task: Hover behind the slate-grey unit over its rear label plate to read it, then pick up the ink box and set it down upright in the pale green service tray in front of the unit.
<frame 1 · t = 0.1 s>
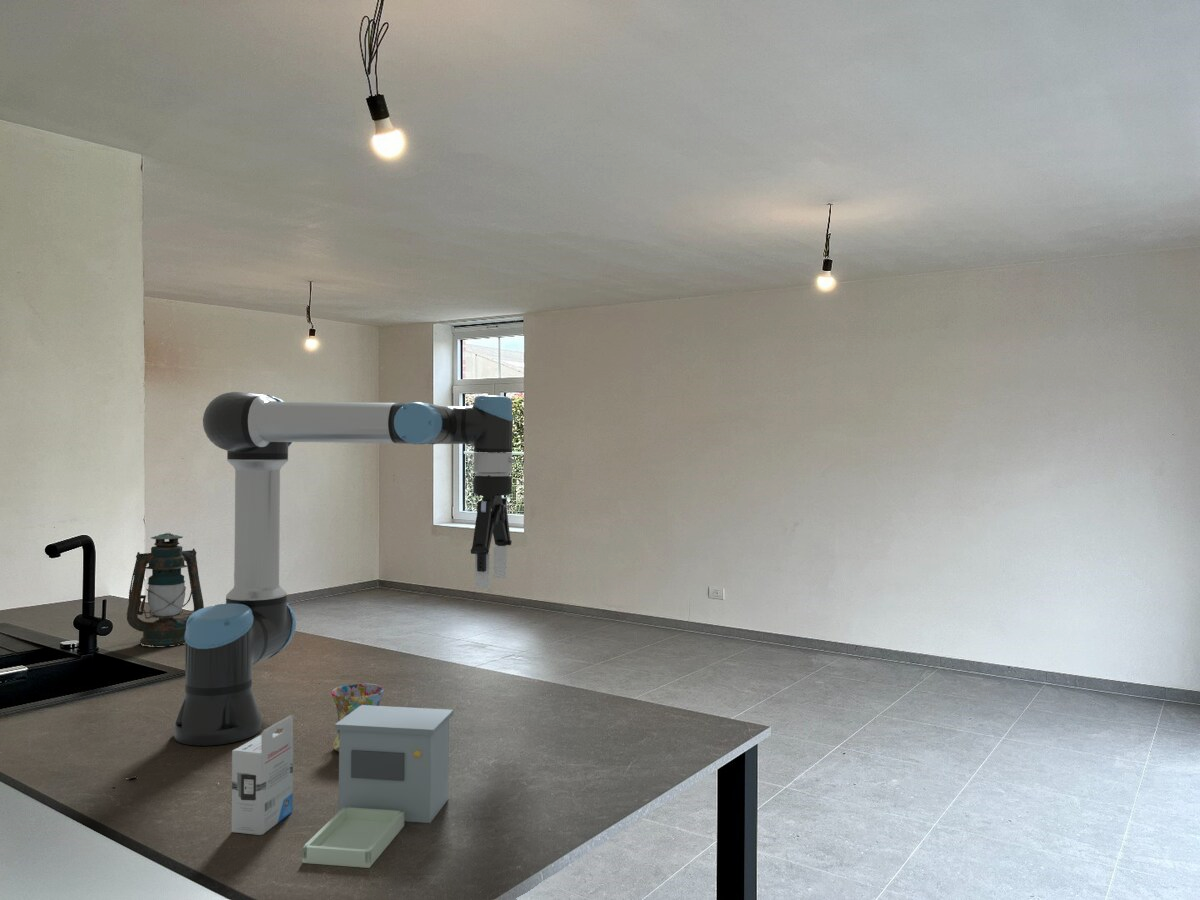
hand: (491, 583, 177), 28 cm above the kitchen island, fingers open, 13 cm apart
unit: (394, 807, 137), on the kitchen island
mug: (353, 748, 164), on the kitchen island
tray: (355, 843, 125), on the kitchen island
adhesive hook: (277, 788, 146), on the kitchen island
ink box: (262, 823, 131), on the kitchen island
lantern: (165, 642, 246), on the kitchen island
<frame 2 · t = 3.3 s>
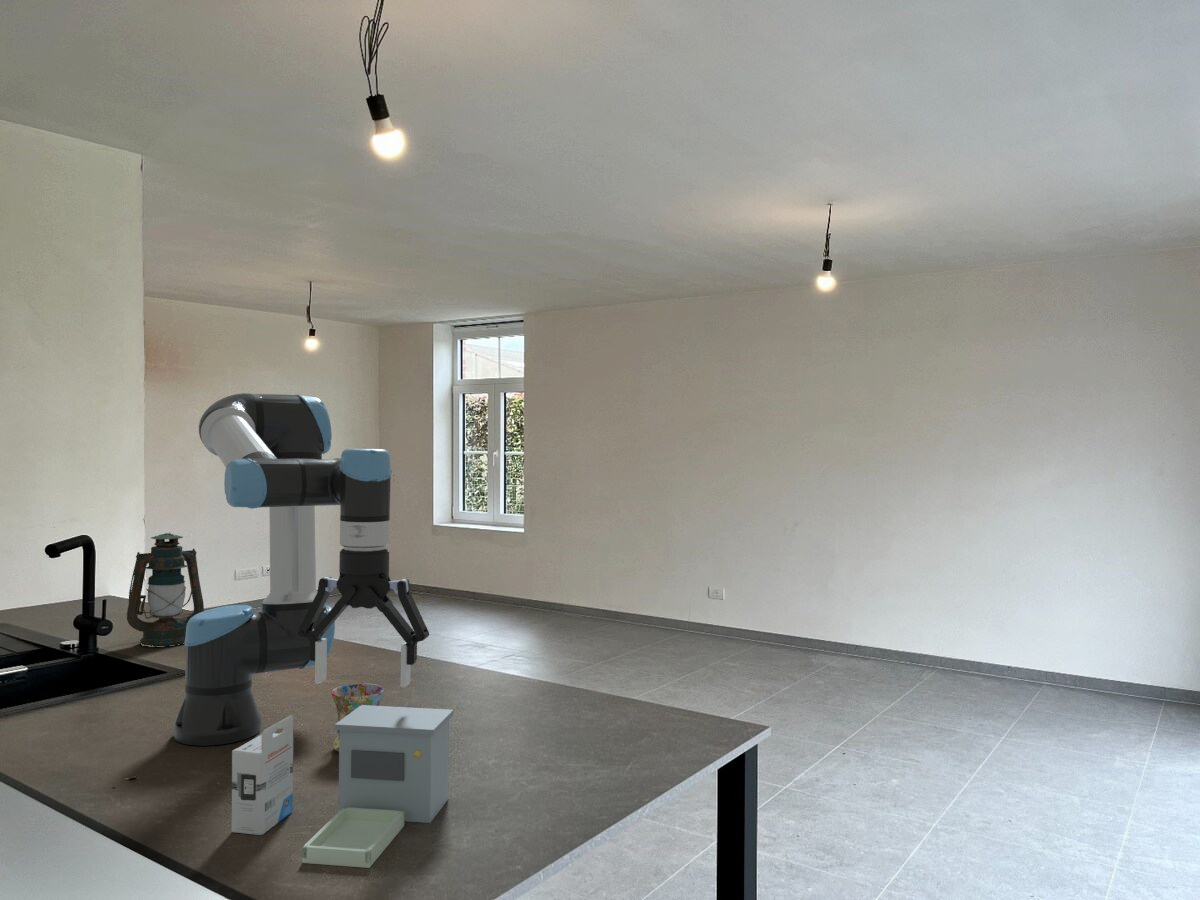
hand: (362, 683, 141), 18 cm above the kitchen island, fingers open, 13 cm apart
nothing on the kitchen island moved.
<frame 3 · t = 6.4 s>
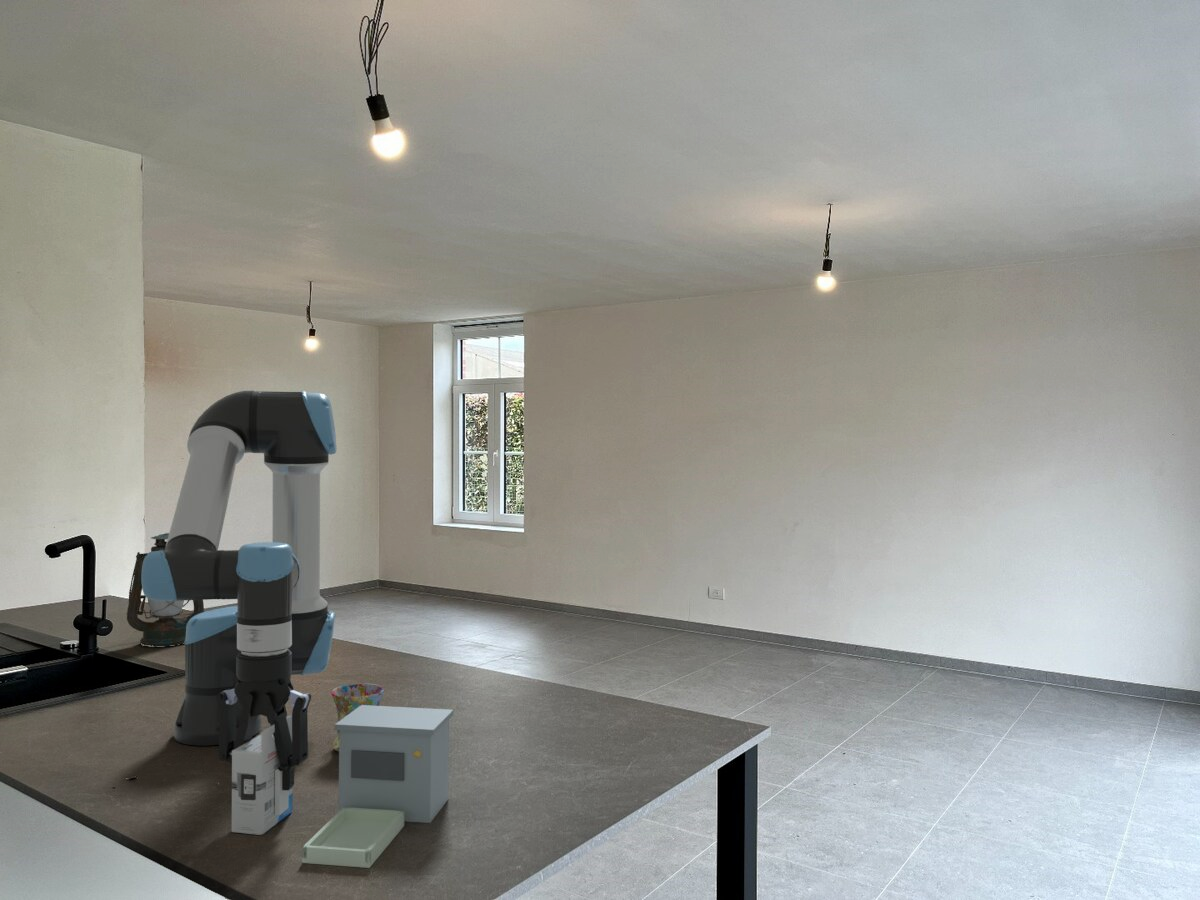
hand: (262, 809, 131), 2 cm above the kitchen island, fingers closed on ink box, 5 cm apart
ink box: (262, 823, 131), on the kitchen island, touching gripper
everything else where it was.
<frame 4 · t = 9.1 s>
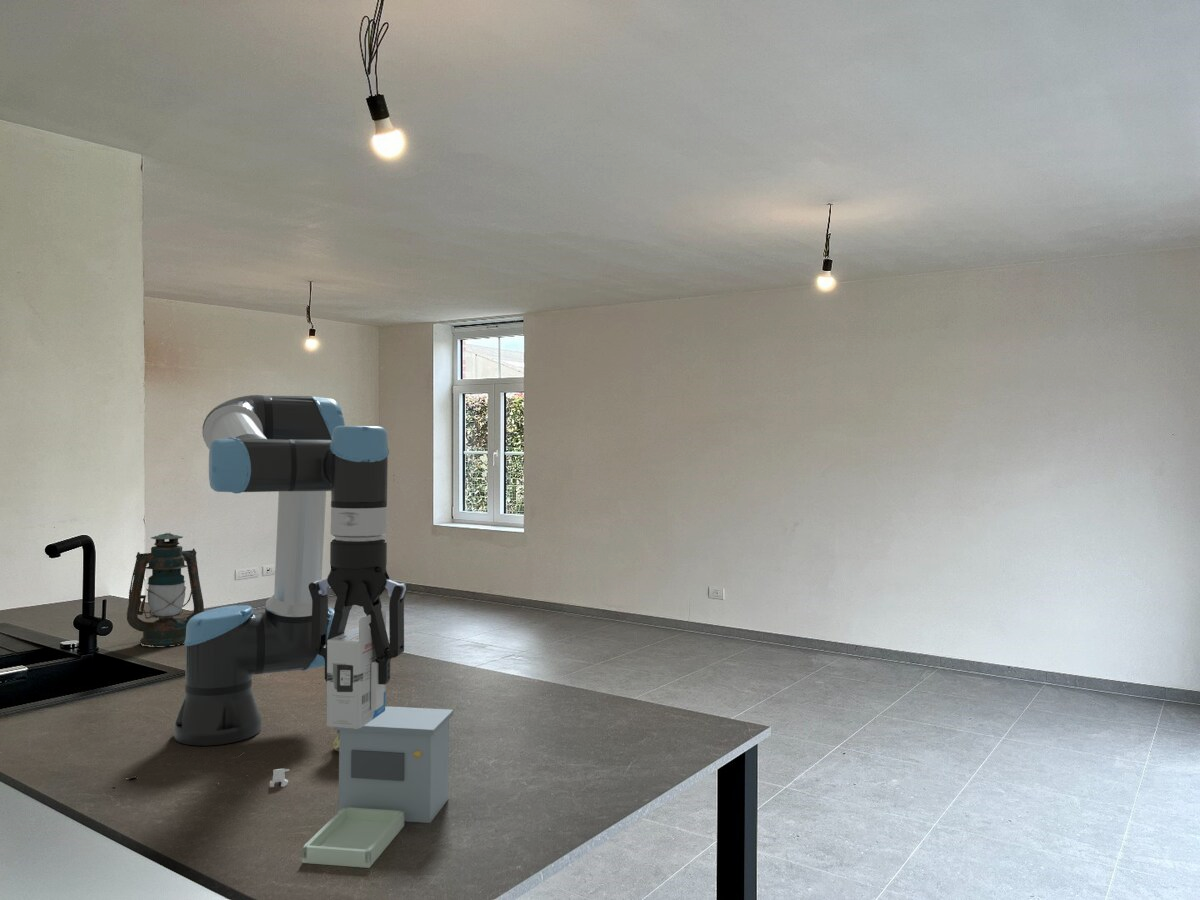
hand: (357, 705, 124), 19 cm above the kitchen island, fingers closed on ink box, 5 cm apart
ink box: (356, 720, 124), point 17 cm above the kitchen island, touching gripper
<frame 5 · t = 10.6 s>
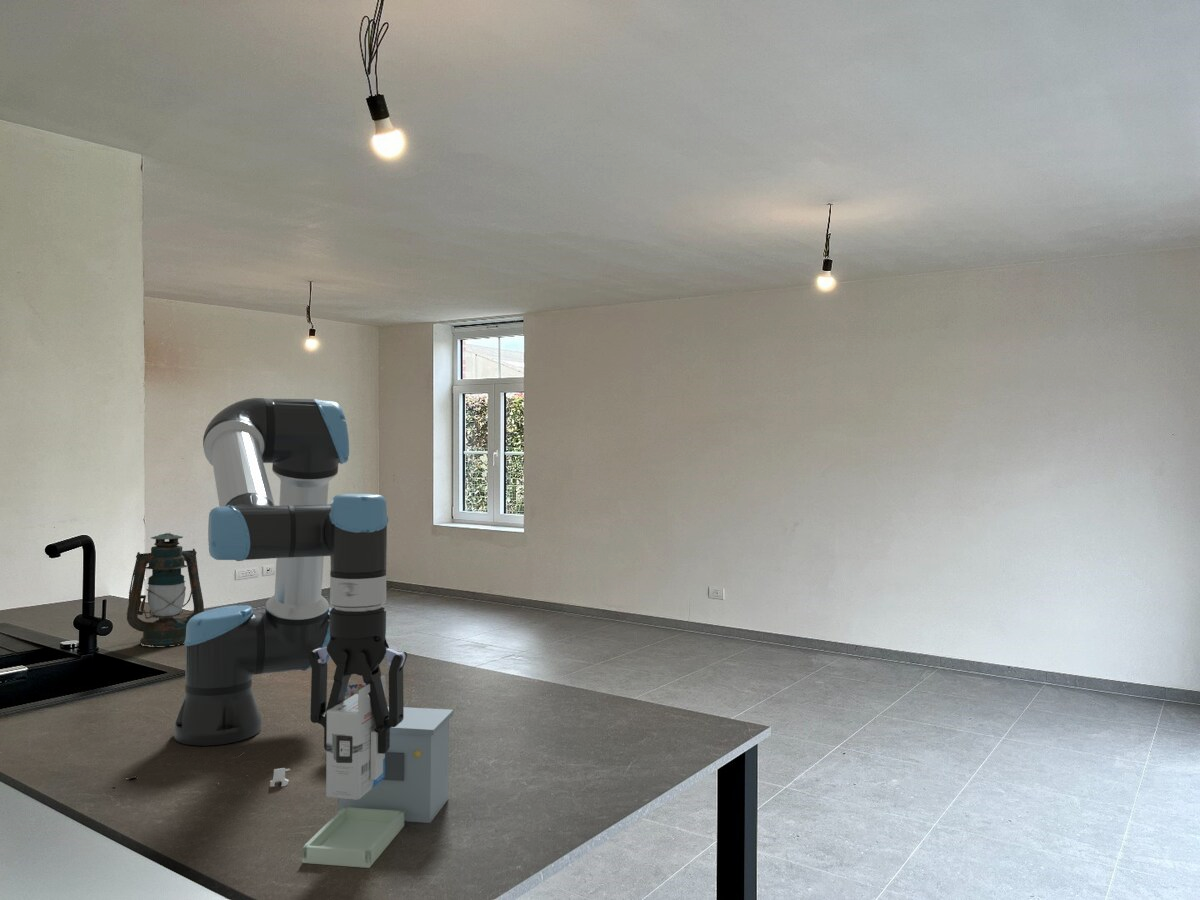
hand: (356, 774, 124), 10 cm above the kitchen island, fingers closed on ink box, 5 cm apart
ink box: (356, 789, 124), point 8 cm above the kitchen island, touching gripper
when the fingers open (4 cm above the kitchen island, at t = 11.9 s): ink box drops 2 cm, resting on tray.
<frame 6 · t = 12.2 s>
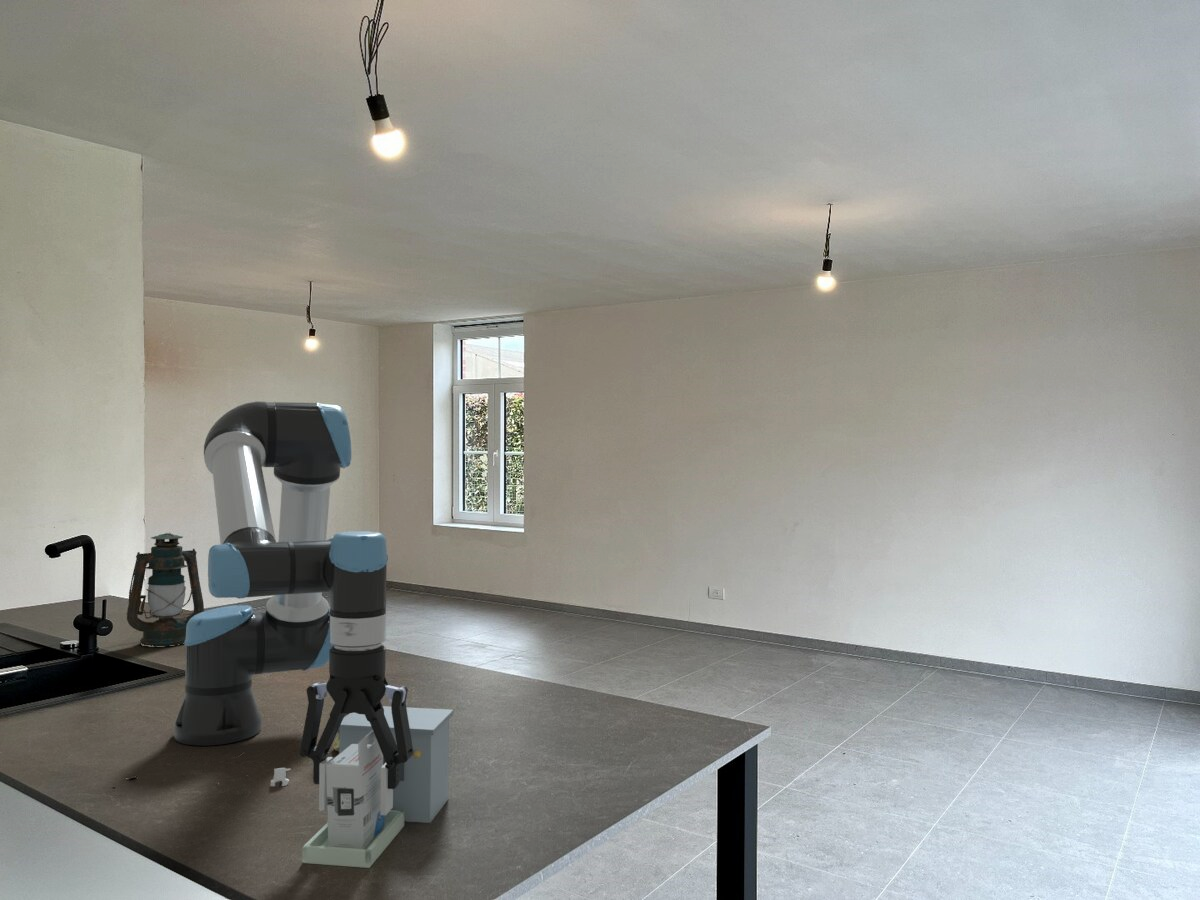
hand: (356, 808, 124), 5 cm above the kitchen island, fingers open, 8 cm apart
ink box: (357, 839, 125), resting on tray
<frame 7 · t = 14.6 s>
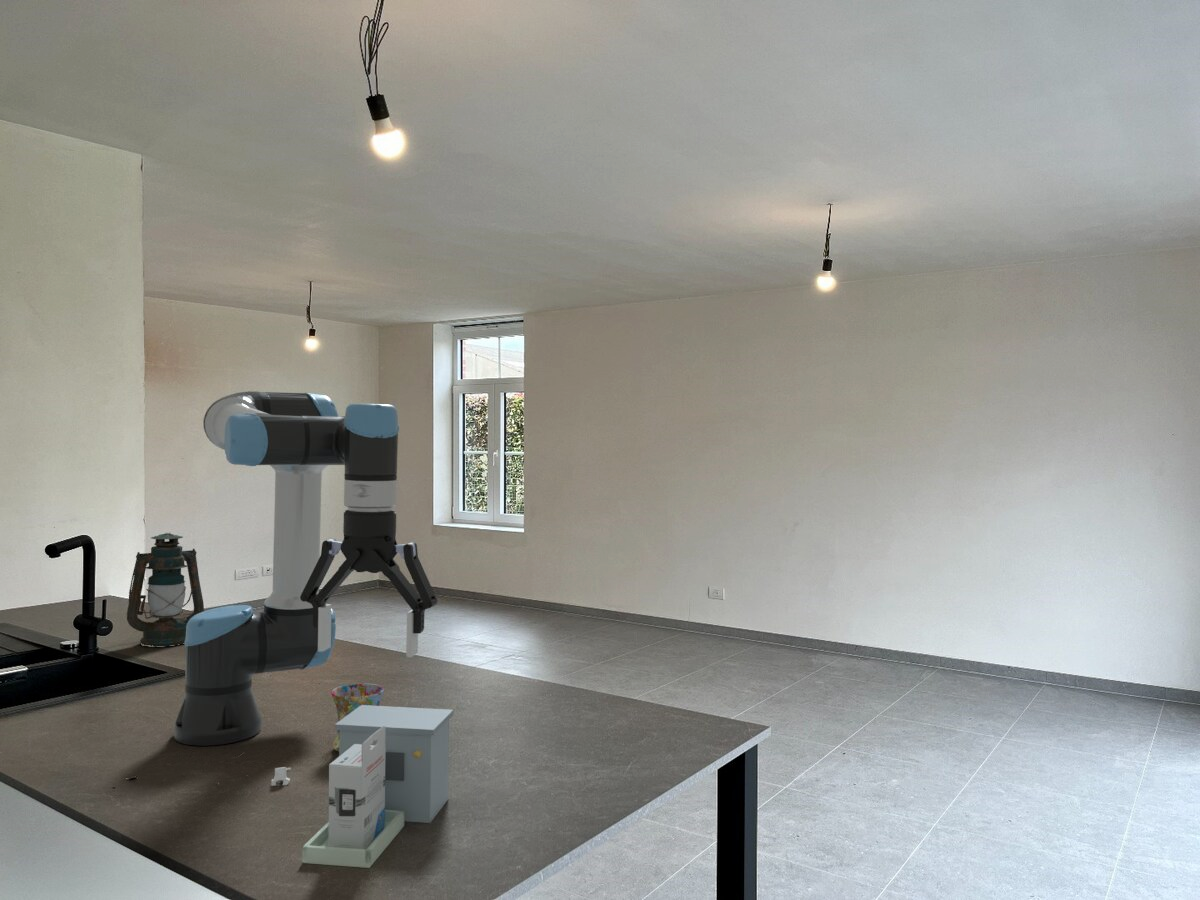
hand: (367, 652, 133), 24 cm above the kitchen island, fingers open, 13 cm apart
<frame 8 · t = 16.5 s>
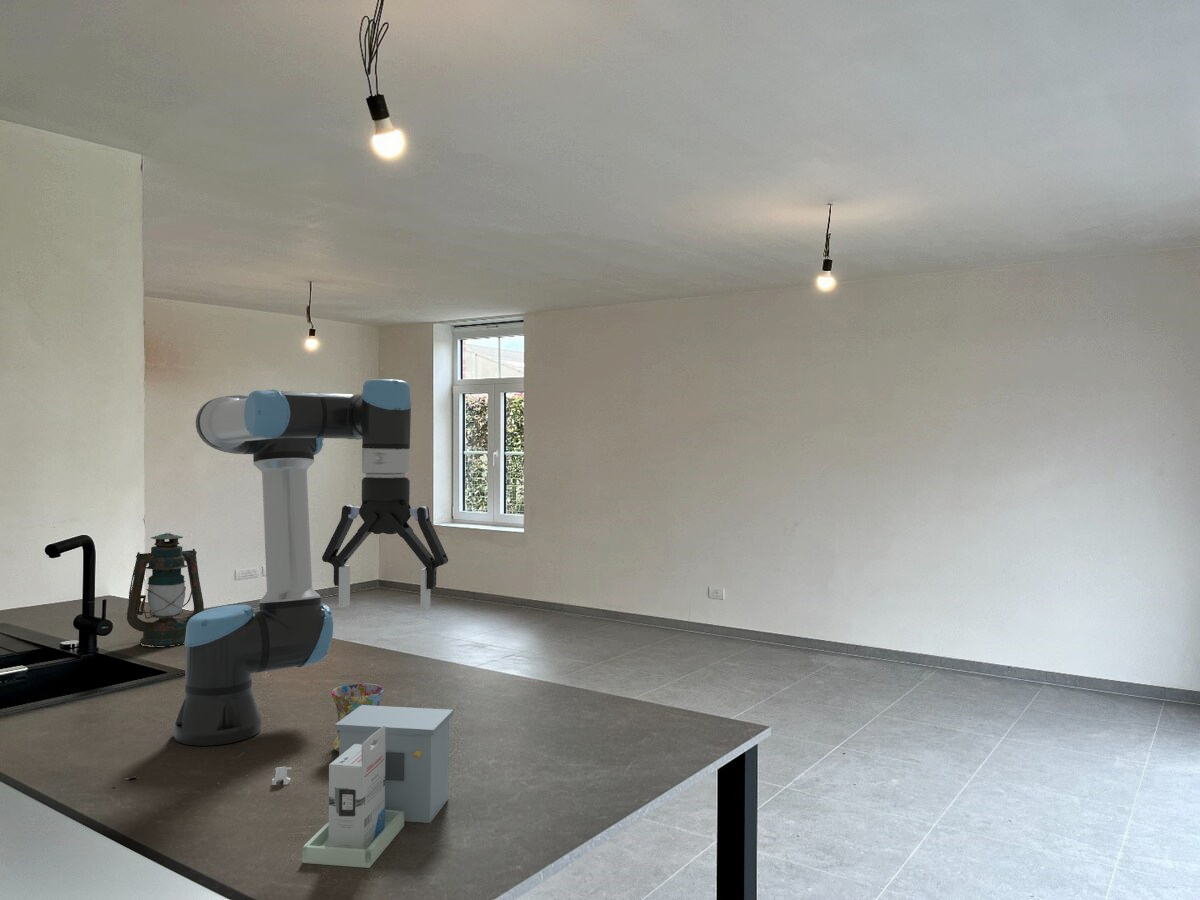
hand: (384, 608, 145), 29 cm above the kitchen island, fingers open, 13 cm apart
at the end: ink box inside the target area on the tray (0.2 cm from its centre), point 0.4 cm above the tray's base; ink box tilted 0°; the gripper is holding nothing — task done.
